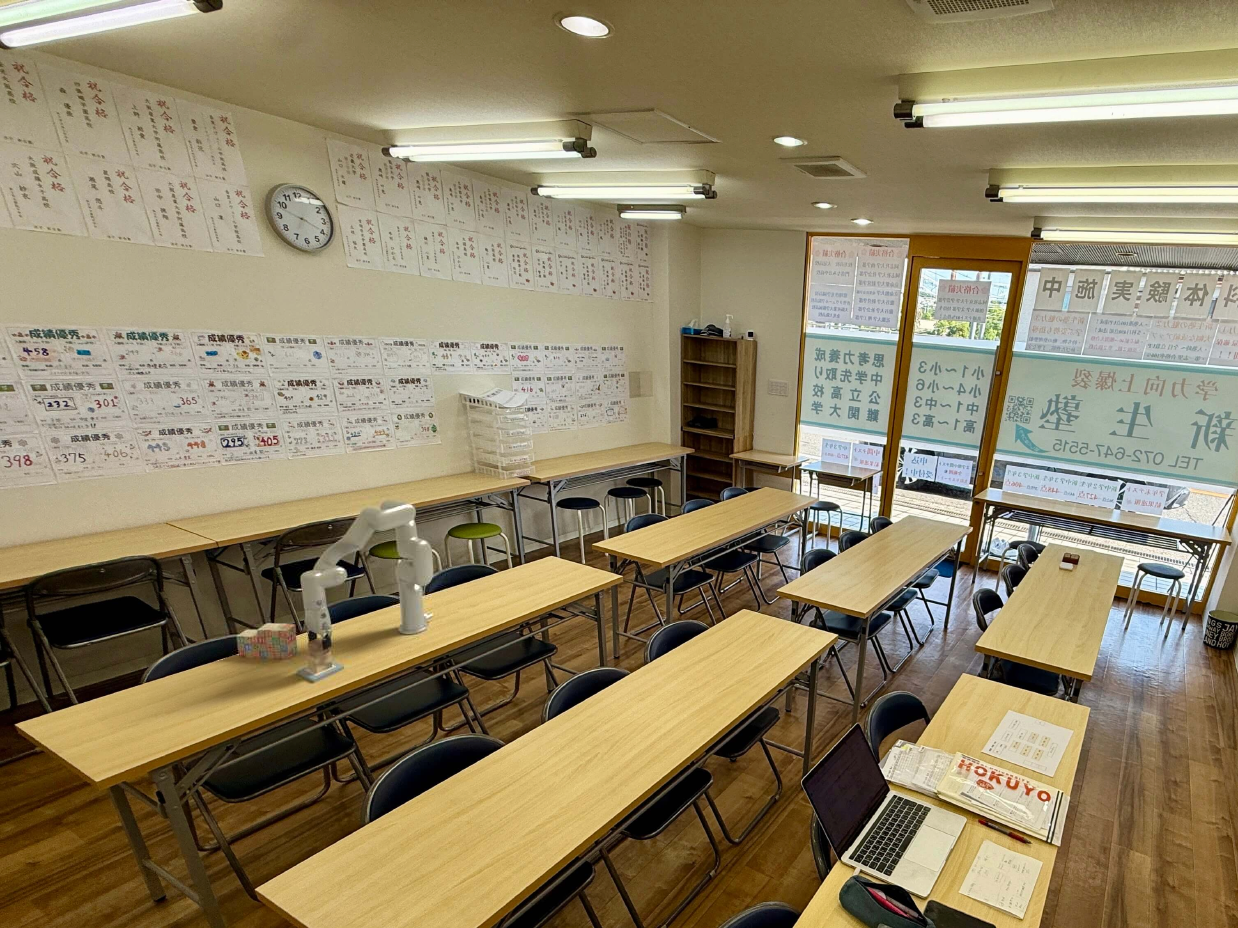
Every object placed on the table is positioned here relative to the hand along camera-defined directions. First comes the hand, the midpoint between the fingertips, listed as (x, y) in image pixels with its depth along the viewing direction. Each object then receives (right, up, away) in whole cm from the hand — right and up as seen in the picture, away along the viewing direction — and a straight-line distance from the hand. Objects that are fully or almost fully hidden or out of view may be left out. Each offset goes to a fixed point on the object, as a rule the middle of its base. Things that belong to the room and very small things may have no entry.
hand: (320, 644), depth 222 cm
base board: (0, -10, +1) cm, 11 cm away
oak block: (0, -9, +1) cm, 9 cm away
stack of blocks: (-29, -9, +15) cm, 33 cm away
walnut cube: (0, -3, 0) cm, 3 cm away
